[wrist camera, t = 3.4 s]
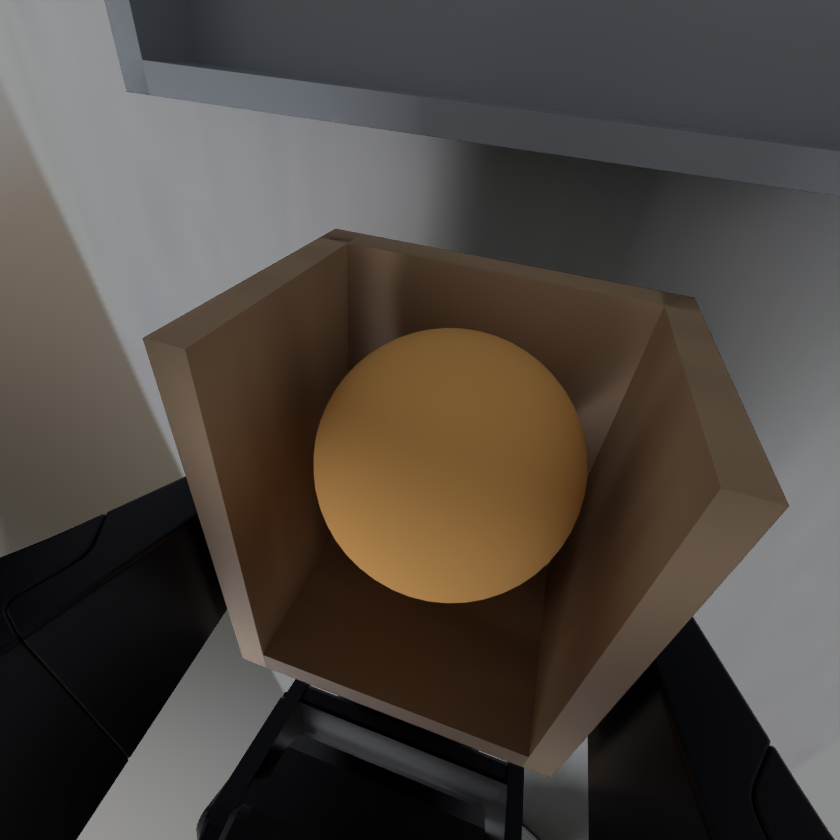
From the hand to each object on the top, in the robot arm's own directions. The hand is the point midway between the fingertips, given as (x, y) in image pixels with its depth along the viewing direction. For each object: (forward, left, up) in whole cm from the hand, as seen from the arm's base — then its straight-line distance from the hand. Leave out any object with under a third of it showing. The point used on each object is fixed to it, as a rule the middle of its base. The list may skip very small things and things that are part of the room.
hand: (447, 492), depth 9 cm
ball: (+2, 0, +1) cm, 2 cm away
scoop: (0, 0, -2) cm, 2 cm away
